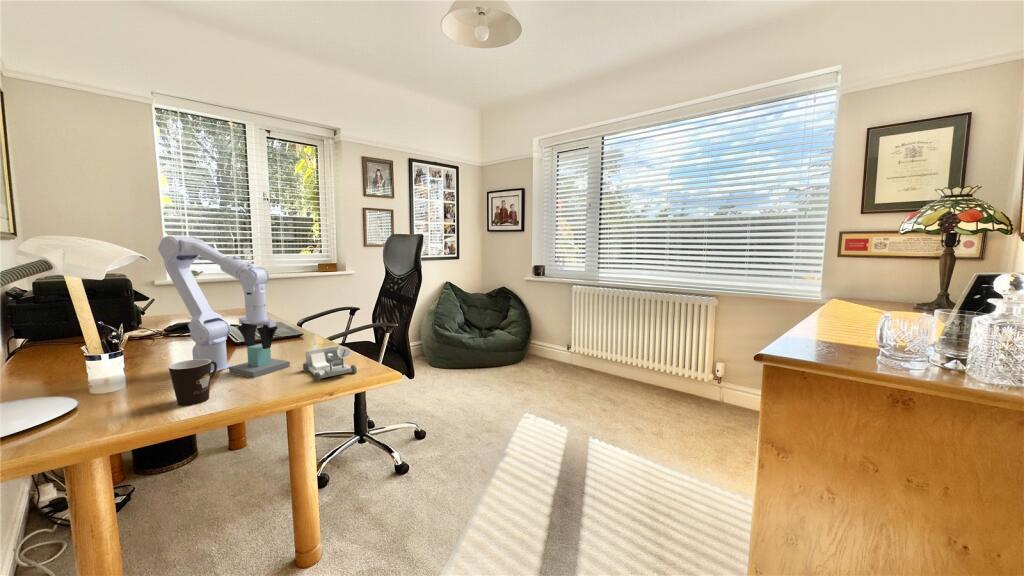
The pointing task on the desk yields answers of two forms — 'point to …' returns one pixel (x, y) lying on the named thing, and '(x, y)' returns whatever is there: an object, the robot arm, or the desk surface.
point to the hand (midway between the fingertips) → (258, 347)
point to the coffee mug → (192, 380)
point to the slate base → (259, 368)
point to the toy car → (328, 362)
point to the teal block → (258, 355)
